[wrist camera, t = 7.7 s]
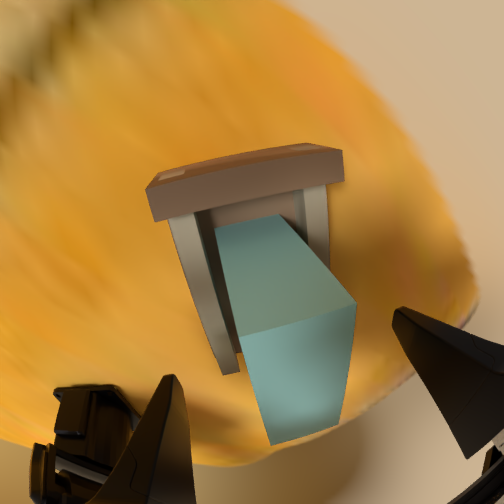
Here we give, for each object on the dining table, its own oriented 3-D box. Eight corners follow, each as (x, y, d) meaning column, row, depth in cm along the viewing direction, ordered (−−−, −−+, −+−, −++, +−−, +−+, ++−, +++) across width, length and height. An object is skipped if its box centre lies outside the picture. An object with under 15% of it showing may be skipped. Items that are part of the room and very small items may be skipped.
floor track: (319, 320, 17) (341, 356, 14) (213, 348, 16) (220, 391, 14) (306, 142, 12) (342, 150, 9) (157, 172, 11) (145, 189, 8)
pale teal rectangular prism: (293, 325, 16) (341, 423, 10) (241, 339, 16) (270, 445, 9) (281, 213, 13) (362, 301, 6) (214, 228, 12) (238, 337, 6)
